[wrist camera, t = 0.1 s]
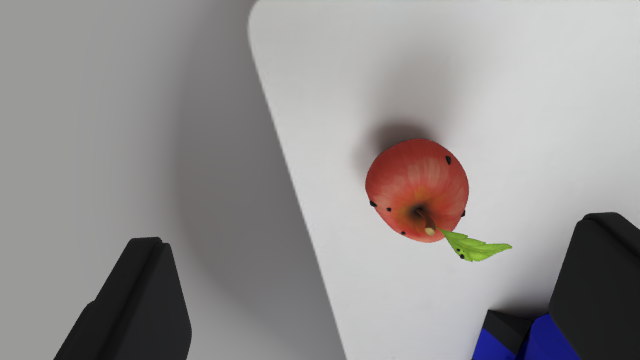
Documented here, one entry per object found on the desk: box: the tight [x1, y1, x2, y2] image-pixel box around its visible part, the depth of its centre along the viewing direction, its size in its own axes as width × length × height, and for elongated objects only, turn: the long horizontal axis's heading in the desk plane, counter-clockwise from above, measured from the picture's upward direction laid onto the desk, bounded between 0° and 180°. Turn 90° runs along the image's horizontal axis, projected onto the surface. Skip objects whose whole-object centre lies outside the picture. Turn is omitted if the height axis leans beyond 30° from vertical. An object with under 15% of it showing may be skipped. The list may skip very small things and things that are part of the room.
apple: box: [365, 139, 512, 262], centre depth 27 cm, size 8×7×10 cm
